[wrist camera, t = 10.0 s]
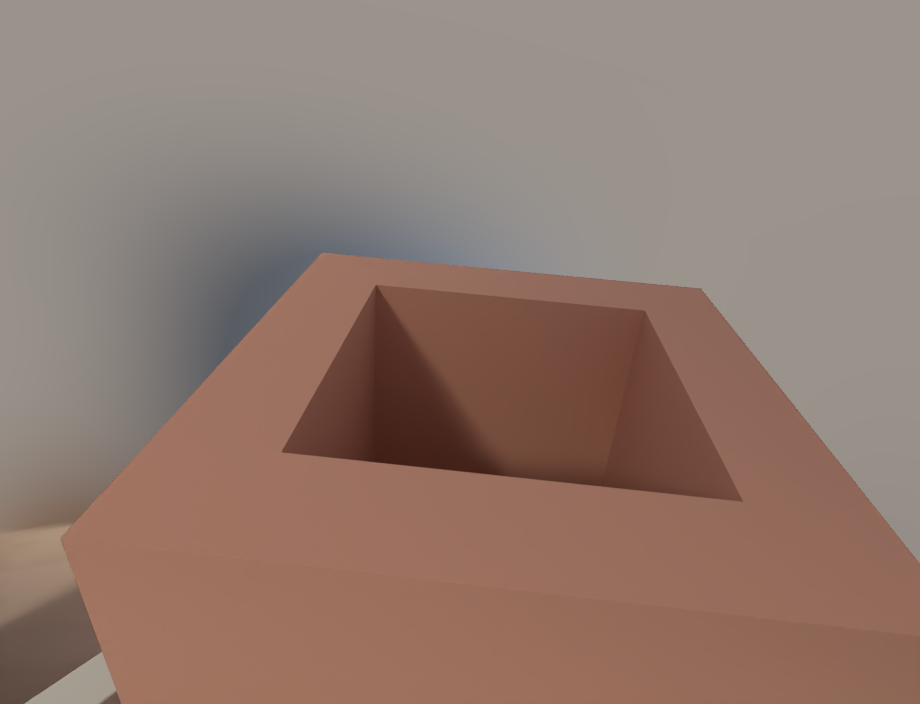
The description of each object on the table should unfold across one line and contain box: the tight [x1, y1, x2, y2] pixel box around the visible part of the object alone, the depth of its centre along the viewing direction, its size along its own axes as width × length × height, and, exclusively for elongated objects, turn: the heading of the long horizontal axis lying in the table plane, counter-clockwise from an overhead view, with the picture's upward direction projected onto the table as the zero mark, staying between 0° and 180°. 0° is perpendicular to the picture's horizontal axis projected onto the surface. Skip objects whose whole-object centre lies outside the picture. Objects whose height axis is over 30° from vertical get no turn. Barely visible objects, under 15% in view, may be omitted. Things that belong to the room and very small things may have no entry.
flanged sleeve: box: [60, 253, 920, 704], centre depth 9 cm, size 11×11×12 cm
